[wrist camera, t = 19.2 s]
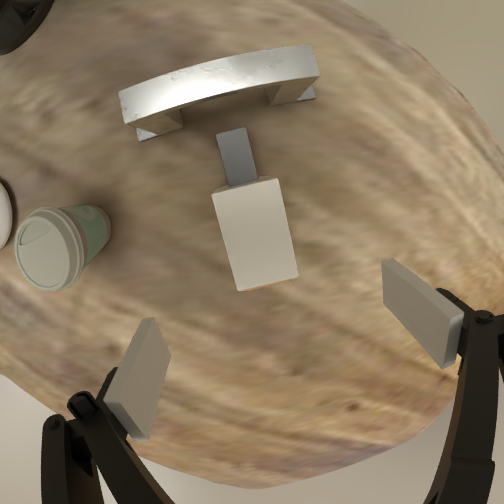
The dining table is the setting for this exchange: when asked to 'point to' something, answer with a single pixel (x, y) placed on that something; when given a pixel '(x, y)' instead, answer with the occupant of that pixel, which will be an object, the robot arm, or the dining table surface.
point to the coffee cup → (60, 244)
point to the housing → (219, 86)
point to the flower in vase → (5, 216)
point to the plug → (252, 218)
